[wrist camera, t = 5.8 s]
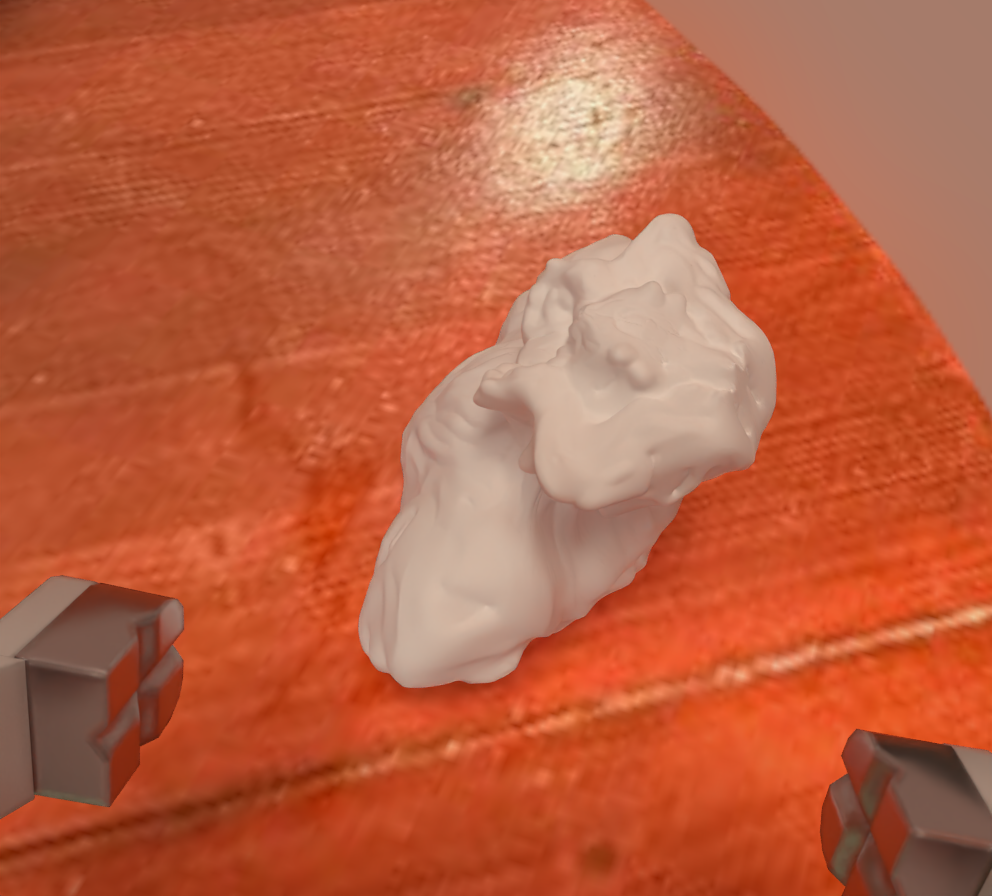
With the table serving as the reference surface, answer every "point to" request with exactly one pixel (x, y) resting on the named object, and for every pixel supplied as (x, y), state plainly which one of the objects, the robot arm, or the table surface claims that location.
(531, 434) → the bust
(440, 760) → the table surface
